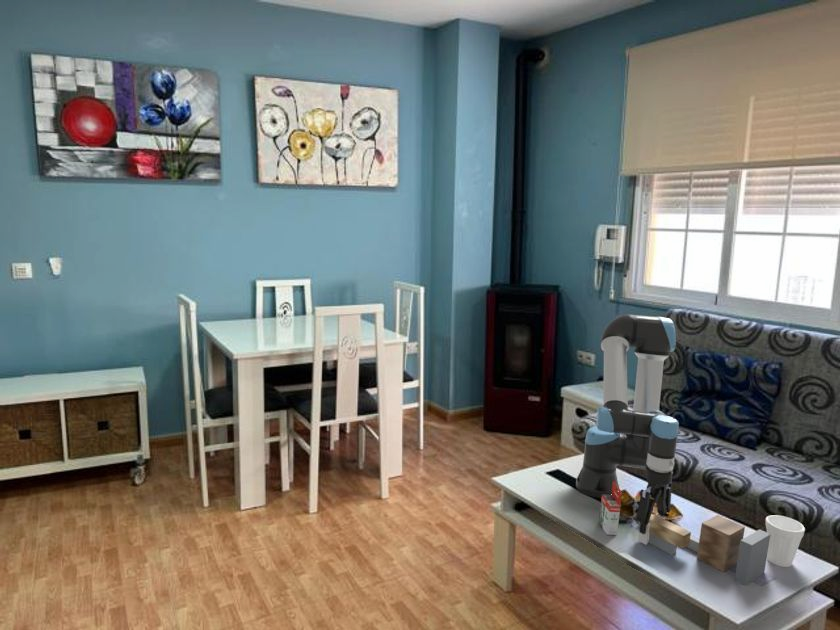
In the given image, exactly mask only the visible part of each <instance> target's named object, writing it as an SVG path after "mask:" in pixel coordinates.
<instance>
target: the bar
mask: <svg viewBox="0 0 840 630" xmlns="http://www.w3.org/2000/svg"><path fill="white" fill-rule="evenodd" d="M649 524H650V529H649V533H651V534H653V535H655V536H657V537H659V538H661V539H663V540H665V541H667V542H669V543H671V544H673V545H675V546H677V548H679V549H684V548H687V547H686V546H688V545H689V542H690V535H691V534H692V531H690V530H687V529H685V528H683V527H681V526H679V525H677V524H675V523H673V522H670V521H669V520H666V519H665V520H664V519H662V518H660V517H658V516H656V515H655V514H653V513H652V514H651V517H650V520H649ZM638 528H639V529H640V522H638ZM691 536H692V535H691Z"/></svg>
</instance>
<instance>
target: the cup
mask: <svg viewBox="0 0 840 630" xmlns="http://www.w3.org/2000/svg"><path fill="white" fill-rule="evenodd" d="M765 528H766V532H767V533H769V534H771V535H770V541H769V547H768V553H767V559H766V561H768V562H770V563H771V564H773V565H774V566H778V567H781V568H791V567H792V565H793V562H794V560H795V558H796V554H797V551H798V549H799V546H800V545H801V542H802V538H803V537H804V534H805V531H806V528H805V527H804V524H802V523H801V522H799V521H798V520H796V519H794V518H791V517H788V516H784V515H779V514H775V515H771V514H770V515H768V516H766V517H765Z"/></svg>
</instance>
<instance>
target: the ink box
mask: <svg viewBox="0 0 840 630" xmlns="http://www.w3.org/2000/svg"><path fill="white" fill-rule="evenodd" d="M616 488H617V489H618V491H619V492H618V491H617V489H616ZM622 497H623V492H622V490H621V489H620V487H619V488H618V486H617V485H616V484H615V482H614V481H613V486H612V495H602V498H600V499H601V501H600V506H599V507H600V509H599V515H598V516H599V517H598V524H599V525H600V527H601V528H602V530H603V532H604V534H605V535H608V536H617V535H618V529H619V521H620V513H621V505H622Z"/></svg>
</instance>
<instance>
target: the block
mask: <svg viewBox="0 0 840 630" xmlns="http://www.w3.org/2000/svg"><path fill="white" fill-rule="evenodd" d="M745 529H746V526H744V525H741V524H739V523H737V522H735V521H732V520H731V519H727V518H725V517H723V516H721V515H718V514H717V515H715V516H713V517H710V518H709V519H706V520H704V521H702V522H701V527H700V534H699V538H698V539H699V546H698V552H696V553H697V555H696V559H697V560H698V561H701V562H703V563H704V564H707V565H709V566H710V567H713V568H715V569H716V570H719V571H720V572H723V573H725V572H726V571H729V570H731V568H733V567H734V566H737V561H738V555H739V548H740V542H741V540H742V539H744V535H745Z"/></svg>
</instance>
